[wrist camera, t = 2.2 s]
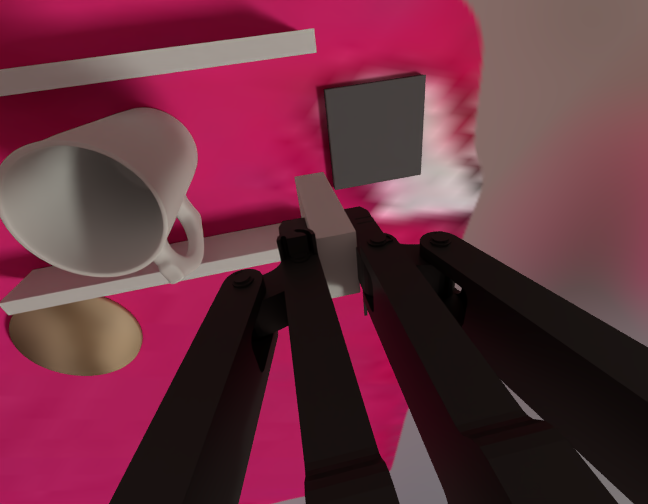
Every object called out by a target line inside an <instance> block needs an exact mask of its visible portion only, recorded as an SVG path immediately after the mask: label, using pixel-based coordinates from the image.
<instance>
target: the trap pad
mask: <svg viewBox="0 0 648 504" xmlns="http://www.w3.org/2000/svg"><path fill="white" fill-rule="evenodd" d="M425 80H426V75H416V76H410V77H403V78H396V79H390V80H383V81H376V82H370V83H363V84H356V85H350V86H343V87H336V88H330V89H324V97H325V107H326V116H327V126H328V136H329V145H330V155H331V165H332V174H333V184H334V189H335V190H338V189H343V188H349V187H354V186H360V185H365V184H371V183H376V182H382V181H388V180H393V179H399V178H404V177H410V176H415V175H421V158H422V139H423V119H424V100H425Z"/></svg>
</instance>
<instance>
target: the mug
mask: <svg viewBox="0 0 648 504" xmlns="http://www.w3.org/2000/svg"><path fill="white" fill-rule="evenodd" d="M197 161H198V154H197V148H196V145H195V142H194V140H193V138H192V136H191V134H190V133H189V131H188V130H187V129H186V127H185V126H184V125H183V124H182V123H181V122H180V121H178V120H177V119H176V118H174V117H173V116H171V115H169V114H168V113H165V112H163V111H160V110H157V109H153V108H145V107H142V108H134V109H130V110H127V111H123V112H120V113H116V114H114V115H111V116H108V117H105V118H103V119H100V120H97V121H94V122H91V123H88V124H85V125H82V126H79V127H76V128H74V129H71V130H68V131H65V132H62V133H59V134H56V135H54V136H51V137H49V138H47V139H44V140H42V141H38V142H34V143H31V144H28V145H25V146H23V147H20V148H19V149H17V150H15V151H14V152H12V153H11V154H10V155H9V156H8V157H7V158H6V159H5V160H4V161H3V162H2V164H1V165H0V218H1V219H2V221H3V223H4V225H5V226H6V228H7V229H8V230H9V232H10V233H11V234H12V235H13V237H14V238H15V239H16V240H17V241H18V242H19V243H20V244H21V245H22V246H24V247H25V248H26V249H27V250H28V251H30V252H31V253H32V254H34V255H35V256H37V257H38V258H40V259H42V260H43V261H45V262H47V263H49V264H51V265H53V266H55V267H58V268H60V269H63V270H66V271H69V272H72V273H76V274H80V275H85V276H92V277H116V276H122V275H127V274H130V273H134V272H136V271H139V270H141V269H143V268H145V267H146V266H148V265H149V264H150V263H151V262H155V263H156V265H157V266H158V268H159V271H160V273H161V274H162V275H163V276H164V277H165V278H166V279H167V280H168V282H169V283H171V284H175V283H177V282H179V281H181V280H182V279H183V278H184V276H186V275H188V274H190V273H191V272H193V271H194V270H196V269H197V268H198V267H199V265H200V264H201V262H202V259H203V255H204V238H203V229H202V221H201V216H200V214H199V212H198V211H197V210H196V209H195V208H194V207H193V205H192V204H191V203H190V201H189V200H188V199H187V197H186V193H187V190H188V188H189V186H190V183H191V181H192V178H193V176H194V173H195V170H196V167H197ZM176 217H177V218H178V219H179V221H180V222H181V224H182V226H183V228H184V230H185V232H186V235H187V238H188V253H187V255H186V256H181V255H179V254H178V253H176V252H175V251H174V250H173V249H172V248H171V246H170V245H169V243H168V241H167V237H168V235H169V233H170V231H171V229H172V226H173V224H174V222H175V219H176Z"/></svg>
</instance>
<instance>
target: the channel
mask: <svg viewBox="0 0 648 504" xmlns="http://www.w3.org/2000/svg"><path fill="white" fill-rule="evenodd" d="M310 53H317V52H316V43H315V34H314V29H306V30H298V31H291V32H283V33H275V34H268V35H260V36H253V37H245V38H237V39H230V40H222V41H214V42H207V43H199V44H191V45H184V46H176V47H169V48H161V49H153V50H146V51H138V52H130V53H123V54H115V55H108V56H100V57H92V58H85V59H77V60H69V61H62V62H54V63H47V64H39V65H31V66H24V67H16V68H8V69H1V70H0V96H6V95H14V94H21V93H28V92H35V91H42V90H50V89H57V88H64V87H71V86H79V85H86V84H93V83H100V82H107V81H115V80H122V79H129V78H136V77H144V76H151V75H158V74H165V73H172V72H180V71H187V70H194V69H201V68H208V67H216V66H223V65H230V64H237V63H245V62H252V61H259V60H266V59H273V58H281V57H288V56H295V55H302V54H310ZM280 224H281V223H278V224H273V225H268V226H263V227H257V228H252V229H247V230H241V231H236V232H231V233H225V234H220V235H215V236H210V237H204V255H203V259H202V262H201V264H200V265H199V267H198V268H197V269H196V270H194V271H193V272H191V273H190V274H188V275H186V276H184V278H183V279H182V280H181V281H183V280H188V279H193V278H198V277H203V276H208V275H213V274H218V273H223V272H228V271H233V270H238V269H243V268H248V267H253V266H258V265H263V264H268V263H273V262H278V261H281V259H280V254H279V250H278V246H277V241H276V240H277V237H278V236H279V226H280ZM169 245H170V246H171V248H172V249H173V250H174V251H175V252H176V253H178V254H179V255H181V256H186V255H187V253H188V241H183V242H178V243H172V244H169ZM168 283H169V282H168V280H167V279H166V278H165V277H164V276H163V275H162V274H161V273H160V271H159V268H158V266H157V265H156V263H155V262H151V263H150V264H149V265H148V266H146V267H145V268H143V269H141V270H139V271H136V272H134V273H130V274H127V275H122V276H116V277H92V276H85V275H80V274H76V273H72V272H69V271H66V270H63V269H60V268H58V267H55V266H50V267H45V268H40V269H35V270H32V271H31V272H30V273H29V274H28V275H27V276H26V277H25V278H24V279H23V280H22V281H21V282H20V283H19V284H18V285H17V286H16V287H15V288H14V289H13V290H12V291H11V292H10V293H9V294H8V295H6V296H5V297H4V298H3V299H2V300H1V301H0V306H1V308H2V309H3V310H4V311H5V312H6V313H7V314H8V315H13V314H18V313H23V312H28V311H33V310H38V309H43V308H48V307H53V306H58V305H63V304H68V303H73V302H78V301H83V300H88V299H93V298H98V297H103V296H108V295H113V294H118V293H123V292H128V291H133V290H138V289H143V288H148V287H153V286H158V285H163V284H168Z"/></svg>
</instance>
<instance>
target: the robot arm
mask: <svg viewBox="0 0 648 504" xmlns="http://www.w3.org/2000/svg"><path fill="white" fill-rule="evenodd" d="M295 183H296V189H297V195H298V200H299V206H300V212H301V218H298V219H293V220H287V221H282V223H281V224H280V226H279V236H278V237H277V240H276V241H277V246H278V250H279V254H280V259H281V263H280V265H279V266H278V267H277V268H275V269H274V270H273V271H271V272H269V273H266V274H264V275H262V274H261V272H260V271H257V270H255V269H245V270H240V271H237V272H235V273H233V274H231V275H230V276H228V277H227V278H226V279H225V281H224V282H223V284H222V286H221V288H220V290H219V292H218V293H217V295H216V297H215V299H214V301H213V303H212V305H211V307H210V309H209V311H208V313H207V315H206V317H205V319H204V321H203V323H202V324H201V326H200V328H199V330H198V332H197V334H196V336H195V338H194V340H193V342H192V344H191V346H190V348H189V350H188V352H187V354H186V356H185V357H184V359H183V361H182V363H181V365H180V367H179V369H178V371H177V373H176V375H175V377H174V379H173V381H172V383H171V385H170V387H169V388H168V390H167V392H166V394H165V396H164V398H163V400H162V402H161V404H160V406H159V408H158V410H157V412H156V414H155V416H154V418H153V420H152V421H151V423H150V425H149V427H148V429H147V431H146V433H145V435H144V437H143V439H142V441H141V443H140V445H139V447H138V449H137V451H136V452H135V454H134V456H133V458H132V460H131V462H130V464H129V466H128V468H127V470H126V472H125V474H124V476H123V478H122V480H121V482H120V483H119V485H118V487H117V489H116V491H115V493H114V495H113V497H112V499H111V501H110V503H109V504H238V503H239V499H240V495H241V490H242V486H243V482H244V478H245V474H246V469H247V465H248V461H249V457H250V452H251V448H252V444H253V440H254V435H255V431H256V427H257V423H258V418H259V414H260V410H261V406H262V401H263V397H264V393H265V389H266V385H267V380H268V376H269V372H270V368H271V363H272V359H273V355H274V351H275V346H276V342H277V338H278V330H280V329H282V328H284V327H286V326H289V334H290V343H291V351H292V360H293V369H294V377H295V386H296V394H297V403H298V412H299V420H300V429H301V438H302V446H303V455H304V463H305V476H306V477H305V482H304V484H305V500H306V504H399V501H398V497H397V494H396V491H395V488H394V485H393V482H392V479H391V476H390V473H389V470H388V468H387V466H386V463H385V461H384V460H383V459H382V458H381V456H380V454H379V451H378V448H377V445H376V442H375V438H374V435H373V432H372V428H371V425H370V422H369V419H368V415H367V412H366V409H365V406H364V402H363V399H362V396H361V393H360V389H359V386H358V383H357V379H356V376H355V373H354V370H353V366H352V363H351V360H350V357H349V353H348V350H347V347H346V343H345V340H344V337H343V334H342V330H341V327H340V324H339V321H338V317H337V314H336V311H335V307H334V304H333V301H332V298H335V297H340V296H345V295H349V294H354V293H359V292H360V284H361V287H362V289H363V302H364V315H365V316H366V315H367V310H368V312H369V315H370V317H371V319H372V322H373V324H374V326H375V329H376V331H377V334H378V336H379V338H380V341H381V343H382V345H383V348H384V350H385V352H386V355H387V357H388V360H389V362H390V364H391V367H392V369H393V371H394V374H395V376H396V378H397V381H398V383H399V386H400V388H401V390H402V393H403V395H404V397H405V400H406V402H407V404H408V407H409V409H410V412H411V414H412V416H413V419H414V421H415V423H416V426H417V428H418V430H419V433H420V435H421V437H422V440H423V442H424V445H425V447H426V449H427V452H428V454H429V456H430V459H431V461H432V463H433V466H434V468H435V471H436V473H437V475H438V478H439V480H440V482H441V485H442V487H443V489H444V492H445V495H446V498H447V502H448V504H618V503H617V501H616V500H615V499H614V498H613V496H612V495H611V494H610V493H609V491H608V490H607V489H606V488H605V486H604V485H603V484H602V483H601V481H600V480H599V479H598V478H597V476H596V475H595V474H594V473H593V471H592V470H591V469H590V468H589V466H588V465H587V464H586V463H585V461H584V460H583V459H582V458H581V456H580V455H579V454H578V453H577V451H578V452H579V453H580V454H581V455H582V456H583V457H584V458H585V459H586V460H587V461H589V462H590V463H591V464H592V465H593V466H594V467H595V468H596V469H597V470H598V471H600V472H601V474H603V475H604V476H605V477H606V478H607V479H608V480H609V481H610V482H611V483H612V484H613V485H614V486H615V487H617V488H618V489H619V490H620V491H621V492H622V493H623V494H624V495H625V496H626V497H627V498H628V499H629V500H630V501H632V502H633V503H634V504H648V347H646V346H644V345H643V344H641V343H639V342H638V341H636V340H634V339H632V338H631V337H629V336H627V335H626V334H624V333H622V332H620V331H619V330H617V329H615V328H613V327H612V326H610V325H608V324H607V323H605V322H603V321H601V320H600V319H598V318H596V317H595V316H593V315H591V314H589V313H588V312H586V311H584V310H582V309H581V308H579V307H577V306H576V305H574V304H572V303H570V302H569V301H567V300H565V299H564V298H562V297H560V296H558V295H557V294H555V293H553V292H551V291H550V290H548V289H546V288H545V287H543V286H541V285H539V284H538V283H536V282H534V281H533V280H531V279H529V278H527V277H526V276H524V275H522V274H520V273H519V272H517V271H515V270H514V269H512V268H510V267H508V266H507V265H505V264H503V263H502V262H500V261H498V260H496V259H495V258H493V257H491V256H489V255H488V254H486V253H484V252H483V251H481V250H479V249H477V248H476V247H474V246H472V245H471V244H469V243H467V242H465V241H464V240H462V239H460V238H458V237H457V236H455V235H453V234H450V233H446V232H442V231H438V232H437V231H436V232H430V233H427V234H425V235H423V236H422V237H421V239H420V244H400V243H399V242H398V241H397V239H396V238H395V237H393V236H392V235H390V234H387V233H383V232H382V231H381V229H380V228H379V226H378V225H377V223H376V222H375V221H374V219H373V218H372V217H371V215H370V213H369V212H368V210H366V209H364V208H362V207H360V206H359V207H354V208H348V209H343V207H342V205H341V203H340V202H339V200H338V198H337V196H336V194H335V193H334V191H333V189H332V187H331V185H330V183H329V182H328V180H327V178H326V176H325V174H324V173H323V172H320V173H314V174H308V175H303V176H297V177H295ZM359 282H360V283H359ZM455 283H457V284H458V285H459V286H460V287H461V288H462V290H461V291H459V290H457V289H456V288H455V287H454V286H455ZM502 381H503V382H504V383H505V384H506V385H507V386H508V387H509V388H510V389H511V390H512V391H513V392H514V393H516V394H517V395H518V396H519V397H520V398H521V399H522V400H523V401H524V402H525V403H526V404H527V405H529V407H531V408H532V409H533V410H534V411H535V412H536V413H537V414H538V415H539V416H540V417H541V418H542V419H543V420H544V421H543V420H536V419H532V418H531V417H529V416H528V415H527V414H526V413H525V412H524V411H523V410H522V408H521V407H520V406H519V404H518V403H517V402H516V400H515V399H514V398H513V396H512V395H511V394H510V392H509V391H508V390H507V388H506V387H505V385H504V384H503V383H502ZM574 448H575V449H576V450H577V451H576V450H575V449H574Z"/></svg>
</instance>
